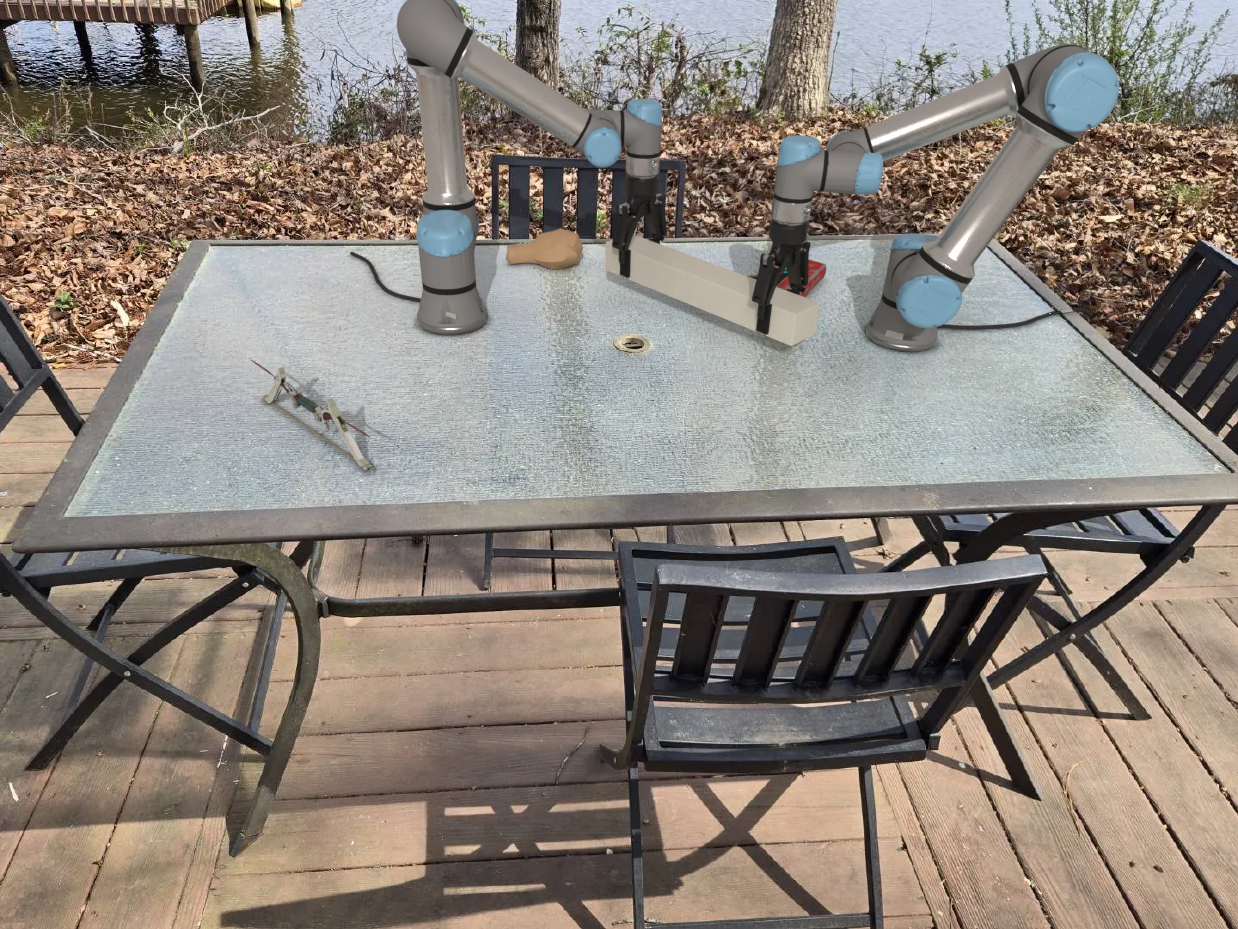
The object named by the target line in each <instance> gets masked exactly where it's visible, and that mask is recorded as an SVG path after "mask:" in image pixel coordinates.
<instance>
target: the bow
mask: <svg viewBox="0 0 1238 929" xmlns="http://www.w3.org/2000/svg"><path fill="white" fill-rule="evenodd" d="M250 361H251V362H252V363H253V364H255V365H256V366H257V367H259V368H260V369H262V370H263V371H265V372H266V373H268V374H269V375H271V376H272V377H273V385H272V386H271V388H270V389H269V391H268V394H265V395H263V396H261V398H262V400H263V402H265V403H267V404H269V405H270V404H272V405H273V406H275V407H277V409H279V410H281V411H282V412H284V413H285V414H286V415H288V416H289V417H291V418H292V419H294V420H295V421H296V422H298V423H300V424H301V425H302V426H304V427H306V428H307V429H308V430H309V431H312V432H313V433H314V434H316V435H317V436H318V437H320V438H322V439H323V440H324V441H326V442H328V443H329V444H331V445H332V446H333V447H335V448H336V449H338V450H339V451H340V452H342V453H344V454H345V455H347V456H348V457H349V458H351V459H353V460H354V461H355V462H356V463H357V464H358V465H357V466H359V467H360V468H361V469H363V470H365V471H368V469H369V468H370V469H372V468H373V465H371V462H369V461H368V460H367V459H366V458H365V456H364V455H363V453H362V452H361V449H360V447H359V445H358V444H357V442H356V440H355V439H354V436H353V435H352V434H351V432H350V429H349V427H350V428H351V429H354V430H355V431H357V432H359V433H361V434H362V435H363V436H365V437H368V438H371V436H370V435H369V434H368V433H366V432H364V431H363V430H362V429H360V428H358V427H357V426H355V425H353V424H351V423H348V422H347V421H346V420H345V418H344V417H343V415H342V413H341V411H340V409H339V408H338V406H337V403H336V402H335V400H334V398H333V397H330V398H327V399H326V403H327V405H326V404H322V405H320V406H318V404H317V403H316V402H315V401H313V400H311V399H310V398H309V397H307V396H304V395H303V394H302V393H303V392H302V389H301V388H297V389H296V388H295V387H294V386H293V385H292V384H291V383H290V382H288V381H286V380H287V375H286V370H285V367H284V366H282V367H278V368H277V373H276V375H274V374H273V373H272V372H271V371H270V370H269V369H266V368H265V367H264V366H263V365H262V364H260V363H258V362H257V361H255V360H253V359H250ZM282 390H285V392H286V393H287V394H288V397H289V399H290V401H291V409H292V410H293V411H295V410H297V409H300V408H301V407H302V408H304V409H306V410H307V411H309V412H310V413H312V414H313V415H314V418H315V421H317V422H318V423H319V422H320V423H322V427H323V431H325V432H327V431H330V430H333V429H332V425H331V422H330V420H332V421H333V422H334V424H335V425H336V427H337V430H338V431H339V433H340V435H341V437H342V440H343V441H344V443H345V445H346V446H347V448H348V450H349V452H350V454H351V455H350V454H348V453H347V452H345V451H344V450H343V449H341V448H340V447H338V446H337V445H336V444H334V443H332V442H331V441H330V440H328V439H326V438H325V437H324V436H322V435H321V434H319V433H318V432H316V431H315V430H314V429H312V428H311V427H310V426H308V425H306V424H305V423H303V422H302V421H300V420H299V419H297V417H295V416H293V415H292V414H291V413H289V412H287V411H285V410H284V409H282V408H281V407H280V406H278V405H277V404H275V402H276V401H278V399H279V397H280V395H281V393H282ZM348 426H349V427H348Z"/></svg>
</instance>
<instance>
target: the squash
mask: <svg viewBox="0 0 1238 929" xmlns="http://www.w3.org/2000/svg"><path fill="white" fill-rule="evenodd" d="M583 249H584V245H583V243H582V241H581V239H580V236H579V233H577V232H574V231H571V230H568V229H565V228H561V227H559V228H557V229H554V230H552V231H546V232H542V233H541V234H539V235H537V236H536V237H535V239H534V240H532V241H530V242H528V243H522V244H508V245H506V256H505V260H506V262H508V264H509V265H514V264H524V263H525V264H527V263H531V264H538V265H540V266H541V267H543V268H547V269H550V270H565V269H567V268H569V267H572V266H574V265H575V264H578V263H579V262H580V261H581V258H582V253H583Z"/></svg>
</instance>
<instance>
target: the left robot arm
mask: <svg viewBox="0 0 1238 929" xmlns="http://www.w3.org/2000/svg"><path fill="white" fill-rule="evenodd" d="M464 18H465V17H464V14H463V12H462V8H461V7H460V5H459V3H458V2H457V1H456V0H406V1H404V3H403V4H402V5H401V7H400V8H399V11H398V14H397V18H396V31H397V34H398V38H399V41H400V42H401V44H402V46H403V47H404V49H405V54H406V63H407V66H408V67H409V68H410V69H411V70H412V71H413V72H414V73H415V77H416V86H417V87H416V88H417V95H418V96H417V97H418V105H419V107H418V108H419V116H420V124H421V134H422V146H423V154H424V162H425V171H426V181H427V182H426V183H427V190H426V191H425V192H424V193H423V194H422V196H421V200H422V209H423V216H422V217H420V218H419V219H418V221H417V224H416V232H415V238H416V241H417V245H418V246H417V247H418V257H419V264H420V266H419V267H420V275H421V276H420V277H421V284H422V292H421V297H416V296H411V295H406V294H401V293H398V292H396V291H393V290H391V289H389V288H388V287H387V286H385V285H384V284H383V283H382V282H381V281H380V279H379V276H378V273H377V271H376V269H375V267H374V265H373V264H372V262H371V261H370V260H369V259H368V258H366V257H364V256H363V255H361V254H358V253H357V252H354V251H350V252H349V255H351V256H353V257H355V258H356V259H358V260H361V261H363V262H364V263H366V264H367V266H368V267H369V269H370V272H371V273H372V277H373V278H374V281H375V282H376V284H377V285H378V286H379V287H380V289H381V290H382V291H384V292H385V293H387V294H388V295H391V296H393V297H395V298H399V299H403V300H408V301H413V302H417V303H419V305H418V310H417V313H416V314H417V315H416V318H417V325H418V326H419V328H420V329H421V330H423V331H424V332H427V333H430V334H433V335H440V336H459V335H465V334H469V333H473V332H476V331H477V330H480V329H481V328H483V327H484V326H485V325H486V323H487V320H488V316H487V310H486V306H485V304H484V302H483V299H482V298H481V295H480V293H479V291H478V288H477V278H476V277H477V276H476V262H475V249H476V244H477V238H478V235H479V230H480V218H479V217H478V213H477V208H476V207H477V206H476V196H475V193H474V192H473V191H472V190H471V189H469V187H468V182H467V181H468V179H467V169H466V167H467V166H466V156H465V143H464V131H463V118H462V107H461V106H462V105H461V94H460V80H459V79H461V80H463V81H465V82H467V83H468V84H470V85H471V86H473V87H475V88H476V89H478V90H479V91H481V92H483V93H484V94H485V95H487V96H489V97H491V98H492V99H494V100H495V101H497V102H499V103H500V104H502V105H504V106H505V107H507V108H508V109H510V110H511V111H513V112H515V113H517V114H518V115H520V116H521V117H523V118H525V119H526V120H528V121H530V122H531V123H533V124H534V125H536V126H537V127H539V128H541V129H542V130H544V131H546V132H547V133H549V134H550V135H552V136H554V137H555V138H556V139H559V140H560V141H562V142H563V143H565V144H566V145H568V146H569V147H571V148H573V149H574V150H575V151H577V152H579V153H580V154H582V155H584V157H585V159H586V160H587V161H588V162H590V163H589V164H591V165H593V166H595V167H596V168H602V169H603V168H604V169H605V168H610V167H611V166H613V165H614V164H615V163H616V162H617V161H618V160H619V159H620V157H621V156H620V155H621V153H622V148H626V152H625V153H626V155H625V173H626V175H625V184H624V187H625V192H626V194H627V197H626V201H625V202H624V203H622V204H621V203H617V204H616V206H615V207H616V217H615V223H614V230H613V236H612V240H613V241H612V247H614V248H616V249H619V263H620V275H622V276H625V277H627V278H629V277H630V265H631V250H629V249H628V248H629V245H630V242H631V239H632V237H633V235H635V234H634V233H635V231H636V227H637V224H638V223H639V222H640V221H641V219H642V218H643V217H644V219H645V222H646V225H647V229H648V231H649V235H650V237H649V238H648V239H647V240H650V241H652V242H655V243H658V244H661V242H663V241H664V240H665V236H667V235H668V227H667V216H666V199H667V196H666V195H665V194H662V193H658V192H659V191H660V190H659V189H660V175H659V173H660V164H661V163H660V162H661V149H662V148H661V147H662V146H661V145H662V130H663V105H661V103H660V102H659V101H658V100H655V99H651V98H634V99H631V100H629V101H627V107H626V109H622V110H621V109H620V110H618V109H617V110H615V109H614V110H613V109H612V110H611V109H590V108H587V109H585V108H584V107H582V106H580V105H578V104H577V103H576V102H574V101H572V100H571V99H569V98H568V97H567V96H564V95H563V94H562V93H560V92H558V91H557V90H555V89H554V88H553V87H551V86H550V85H548V84H546V83H545V82H543V81H542V80H540V79H538V78H537V77H535V76H533V75H532V74H531V73H529V72H527V70H525V69H523V68H521V67H519V65H516V64H515V63H514V62H513V61H510V60H509V59H508V58H506V57H504V56H503V55H501V54H500V53H498V52H496V51H495V50H493V49H492V48H490V47H488V46H487V44H484V43H483V42H481V41H480V40H478V37H477V33H476V31H474V30H473V29H471V28H470V27H469V26H467V25H466V24H465V19H464Z"/></svg>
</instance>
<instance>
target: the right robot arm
mask: <svg viewBox="0 0 1238 929" xmlns="http://www.w3.org/2000/svg"><path fill="white" fill-rule="evenodd" d="M1119 94H1120V80H1119V77H1118V73H1117V72H1116V69H1115V68H1114V67H1113V66H1112V65H1111V64H1110V63H1109V61H1108V60H1107V59H1106V58H1104V57H1103V56H1102V55H1100V54H1097V53H1095V52H1092V51H1090V50H1088V49H1087V48H1085V47H1083V46H1082V45H1078V44H1074V43H1061V44H1057V45H1053V46H1050V47H1046V48H1044V49H1042V50H1039V51H1036V52H1034V53H1032V54H1029V55H1026V56H1025V57H1022V58H1020V59H1018V60H1015V61H1013V62H1010V63H1007V64H1006V65H1003V66H1002V67H1001V68H1000V70H999V72H998V73H997V74H995V75H993V76H990V77H988V78H985V79H983V80H980V81H978V82H975V83H974V84H970V85H968V86H966V87H963V88H961V89H957V90H956V91H952V92H950V93H947V94H946V95H943V96H940V97H938V98H935V99H933V100H930V101H928V102H925V103H923V104H920V105H917V106H915V107H913V108H909V109H907V110H905V111H902V112H900V113H898V114H895V115H892V116H890V117H887V118H885V119H882V120H880V121H878V122H874V123H873V124H869V125H867V126H865V127H863V128H859V129H857V130H854V131H849V130H843V131H839V132H837V133H835V134H834V135H833V136H832V137H831V138H830V139H829V140H828V142H827V144H826V147H825V149H822V147H821V141H820V139H818V138H817V137H814V136H807V135H802V134H800V135H798V134H797V135H796V134H795V135H789V136H786V137H785V138H783V139H782V141H781V142H780V145H779V150H778V157H777V162H776V170H775V179H774V180H775V181H774V189H773V197H772V204H771V211H770V217H771V220H770V221H769V230H768V237H769V239H770V241H771V242H772V244H771V248H770V250H769V252H768V253H763V252H762V253H761V254H760V256H759V267H758V272H757V274H756V275H757V279H756V284H755V288H754V292H753V296H752V301H753V302H755V303H758V313H757V326H756V331H758V332H761V333H763V334H765V335H767V334H769V326H770V318H771V311H772V304H770V301H771V299H772V296H773V293H774V291H775V288H776V286H777V283H778V281H779V278H780V275H781V274H782V273H784V271H785V268H786V269H787V274H788V280H789V285H790V288H792V289H788V290H787V291H789V292H792V293H794V294H797V295H800V292H805V290H806V288H804V287H803V286H807V285H808V267H809V260H810V258H809V257H810V250H811V246H812V244H811V242H810V241H808V240H807V238H808V235H809V234H808V232H809V227H810V226H809V225H810V223H809V222H808V221H809V220H810V218H811V212H812V202H813V199H814V192H819V193H831V194H832V193H833V194H843V195H845V194H846V195H847V194H848V195H856V196H863V195H864V196H865V195H867V196H868V195H875V194H877V193H878V192H879V189H880V187H881V184H882V180H883V172H884V162H887V161H888V160H891V159H894V158H896V157H899V156H902V155H904V154H907V153H909V152H912V151H914V150H917V149H920V148H923V147H926V146H928V145H931V144H933V143H937V142H938V141H942V140H944V139H947V138H949V137H952V136H955V135H957V134H960V133H962V132H965V131H968V130H970V129H973V128H976V127H979V126H982V125H984V124H986V123H989V122H993V121H994V120H997V119H999V118H1002V117H1005V116H1010V117H1012V118H1016V119H1015V120H1016V127H1015V128H1014V130H1013V131H1012V132H1011V134H1010V136H1008V138H1007V140H1006V141H1005V142H1004V144H1003V145H1002V147H1001V148H1000V149H999V150H998V152H997V154H996V155H995V156H994V158H993V159H992V161H991V162H990V163H989V164H988V166H987V168H986V169H985V171H984V172H983V173H982V175H981V176H980V178H979V179H978V180H977V182H976V183H975V184H974V185H973V188H972V189H971V190H970V191H969V193H968V195H967V196H966V197H965V199H964V200H963V201H962V203H961V205H960V206H959V207H958V209H957V210H956V211H955V212H954V214H953V216H951V219H950V220H949V221H948V223H947V224H946V225H945V227H944V229H943V230H942V231H941V233H940V234H939V235H932V234H925V233H902V234H898V235H897V236H895V237H894V239H893V241H892V244H891V247H890V249H889V250H890V254H889V258H888V262H887V263H888V264H887V268H886V273H885V277H884V278H885V279H884V283H883V288H882V292H881V293H882V294H881V297H880V302H879V303H878V305H877V307H876V309H874V312H873V313H872V314H871V316H870V319H869V320H868V322H867V325H866V330H865V335H866V337H867V339H869V340H870V341H871V342H872V343H874V344H876V345H877V346H880V347H883V348H885V349H888V350H893V351H896V352H905V353H918V352H919V353H920V352H924V351H928V350H930V349H932V348H934V347H935V346H936V345H937V340H938V336H939V335H938V333H939V332H938V329H947V330H948V329H949V330H965V331H966V330H974V331H975V330H992V329H993V330H998V329H1009V328H1010V329H1011V328H1018V327H1023V326H1027V325H1029V324H1032V323H1035V322H1037V321H1040V320H1043V319H1047V318H1049V317H1051V316H1056V315H1063V314H1064V313H1062V312H1061V311H1058V312H1056V310H1052V311H1049V312H1046V313H1043V314H1041V315H1037V316H1034V317H1032V318H1029V319H1027V320H1023V321H1019V322H1012V323H1000V324H999V323H997V324H982V325H981V324H980V325H976V324H975V325H971V324H970V325H969V324H968V325H967V324H966V325H963V324H962V325H961V324H960V325H959V324H947V323H949V322H950V321H952V320H953V319H954V318H955V317H956V315H957V314H958V312H959V311H960V309H961V306H962V302H963V295H962V294H963V292H964V291H965V290H966V289H967V287H968V286H969V285H970V283H971V282H972V281H973V279H974V278H975V277H976V271H975V263H976V262H977V261H978V259H979V258H980V257H981V256H982V254H983V253H984V251H985V250H986V249H987V248H988V246H989V245H990V243H991V242H992V241H993V239H994V238H995V237H996V235H997V234H998V233H999V231H1000V230H1001V229H1002V227H1003V226H1004V224H1006V222H1007V221H1008V219H1009V218H1010V217H1011V215H1012V214H1013V213H1014V211H1015V210H1016V209H1017V207H1018V206H1019V205H1020V203H1021V202H1022V201H1023V200H1024V198H1025V196H1026V195H1027V194H1028V193H1029V191H1030V190H1031V189H1032V187H1033V186H1034V184H1035V183H1036V182H1037V181H1038V179H1039V178H1040V177H1041V175H1042V174H1043V173H1044V172H1045V170H1046V169H1047V167H1048V166H1049V165H1050V163H1051V162H1052V160H1053V159H1054V158H1055V157H1056V155H1057V154H1058V153H1059V152H1060V151H1063V150H1067V149H1070V148H1073V147H1074V146H1075V144H1077V142H1078V140H1080V138H1081V137H1082V135H1083V134H1084V133H1085V132H1087V131H1089V130H1091V129H1094V128H1096V127H1097V126H1099V125H1100V124H1101V123H1103V121H1105V120H1106V119H1107V118H1108V117H1109V115H1110V114H1111V113H1112V111H1113V109H1114V108H1115V106H1116V103H1117V101H1118V98H1119ZM774 265H775V266H778V267H780V268H776V267H774ZM801 277H802V278H803V279H801ZM1070 308H1071V309H1072V310H1073V311H1074V312H1073V313H1076V312H1077V313H1079V312H1082V313H1084V314H1086V315H1087V316H1089V317H1092V316H1093V313H1092V312H1091V311H1090V310H1089V309H1087V308H1085V307H1070ZM1049 313H1051V314H1049ZM758 332H757V333H758ZM763 334H762V335H763ZM765 335H764V336H765Z"/></svg>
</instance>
